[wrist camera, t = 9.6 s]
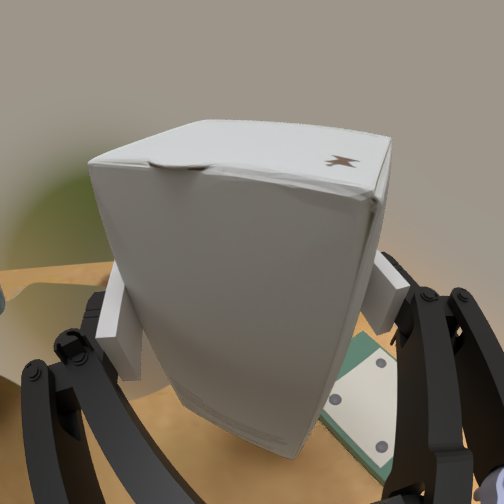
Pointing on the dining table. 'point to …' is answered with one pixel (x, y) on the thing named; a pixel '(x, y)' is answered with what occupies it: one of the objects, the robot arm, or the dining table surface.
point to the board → (365, 405)
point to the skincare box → (247, 262)
